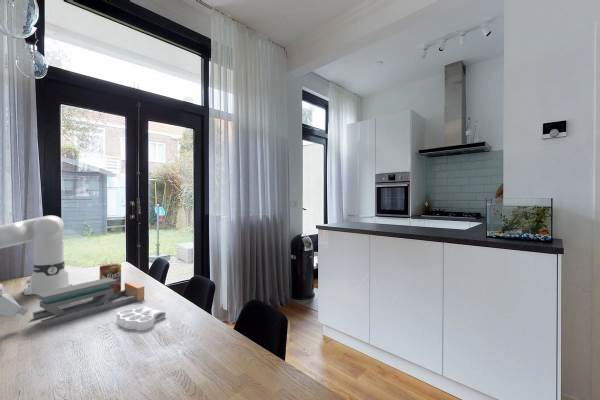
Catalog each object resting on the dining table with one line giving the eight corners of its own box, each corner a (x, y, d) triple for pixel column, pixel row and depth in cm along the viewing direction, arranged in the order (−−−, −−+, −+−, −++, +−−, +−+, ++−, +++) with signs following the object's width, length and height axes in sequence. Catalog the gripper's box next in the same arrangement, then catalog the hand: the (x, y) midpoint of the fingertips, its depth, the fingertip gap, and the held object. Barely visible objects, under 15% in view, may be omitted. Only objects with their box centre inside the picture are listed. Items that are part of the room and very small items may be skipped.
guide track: (32, 318, 107) (32, 312, 107) (124, 294, 134) (124, 289, 134) (41, 328, 99) (41, 321, 99) (137, 300, 126) (137, 295, 126)
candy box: (99, 297, 130) (99, 266, 130) (99, 295, 134) (99, 264, 134) (121, 294, 135) (121, 263, 135) (121, 291, 139) (121, 262, 139)
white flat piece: (170, 319, 107) (133, 336, 94) (143, 310, 116) (106, 324, 103) (170, 311, 107) (133, 326, 94) (143, 303, 116) (106, 316, 103)
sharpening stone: (43, 326, 101) (43, 297, 101) (36, 321, 105) (36, 293, 105) (116, 304, 122) (116, 280, 122) (108, 300, 127) (108, 277, 127)
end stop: (124, 294, 134) (124, 282, 134) (131, 293, 137) (131, 281, 137) (137, 300, 126) (137, 288, 126) (144, 299, 128) (144, 286, 128)
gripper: (-29, 295, 97) (11, 313, 105) (-22, 309, 85) (22, 328, 93) (-10, 280, 100) (27, 298, 108) (-1, 291, 89) (39, 310, 97)
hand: (25, 312), depth 101 cm, fingers closed
